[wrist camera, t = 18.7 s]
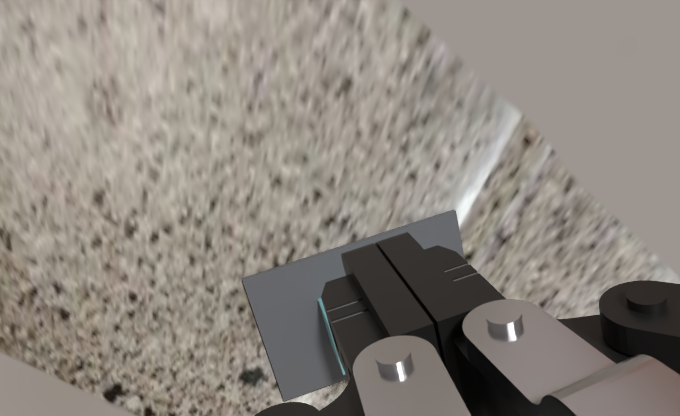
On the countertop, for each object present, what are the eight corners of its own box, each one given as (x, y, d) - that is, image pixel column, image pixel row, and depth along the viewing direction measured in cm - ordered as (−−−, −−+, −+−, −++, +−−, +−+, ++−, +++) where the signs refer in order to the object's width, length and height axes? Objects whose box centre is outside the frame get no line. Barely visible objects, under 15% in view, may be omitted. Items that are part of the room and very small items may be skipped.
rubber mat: (283, 398, 51) (283, 401, 51) (241, 278, 47) (242, 280, 47) (476, 330, 54) (477, 332, 53) (453, 209, 49) (455, 211, 49)
